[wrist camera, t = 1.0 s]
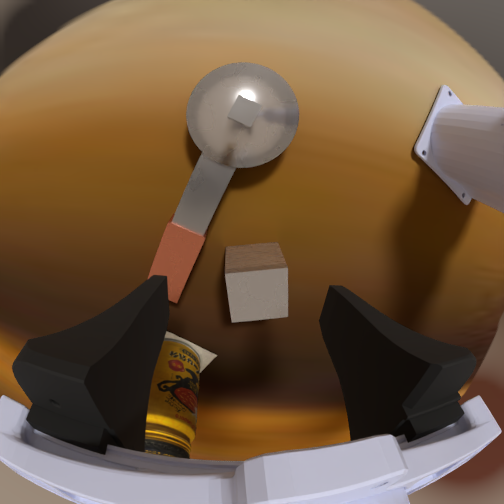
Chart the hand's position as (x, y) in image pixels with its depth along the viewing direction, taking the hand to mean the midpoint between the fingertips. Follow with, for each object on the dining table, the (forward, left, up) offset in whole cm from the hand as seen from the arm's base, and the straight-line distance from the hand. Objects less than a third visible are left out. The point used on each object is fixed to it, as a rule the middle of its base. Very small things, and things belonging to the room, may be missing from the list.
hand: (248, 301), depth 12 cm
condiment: (+1, +17, -10) cm, 19 cm away
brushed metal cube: (-2, +3, -10) cm, 10 cm away
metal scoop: (+4, -2, -9) cm, 10 cm away
